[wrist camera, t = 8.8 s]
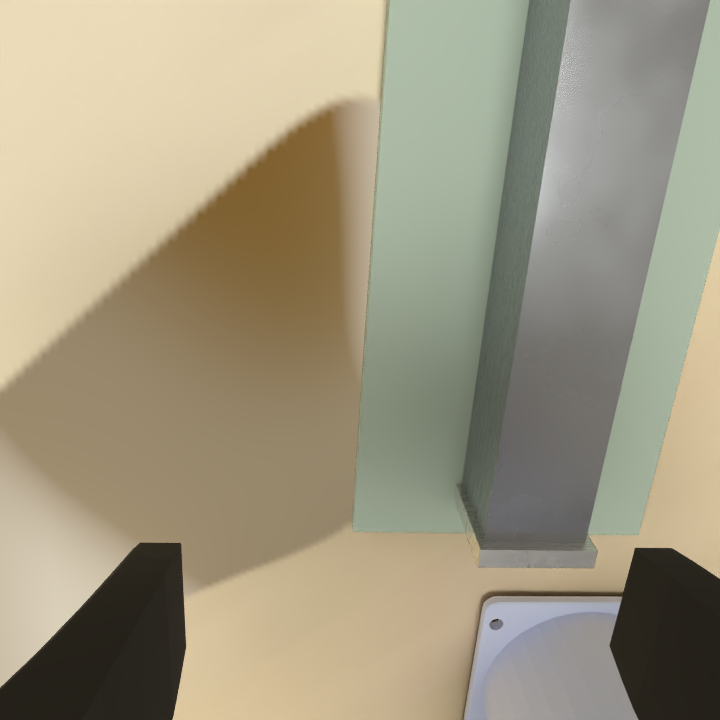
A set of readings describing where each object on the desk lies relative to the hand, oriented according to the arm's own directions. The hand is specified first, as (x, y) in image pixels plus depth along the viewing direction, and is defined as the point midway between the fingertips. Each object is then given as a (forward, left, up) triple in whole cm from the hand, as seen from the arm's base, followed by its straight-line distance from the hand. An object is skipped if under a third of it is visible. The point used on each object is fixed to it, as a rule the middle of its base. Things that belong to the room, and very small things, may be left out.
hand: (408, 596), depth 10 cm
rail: (+5, -5, -10) cm, 12 cm away
